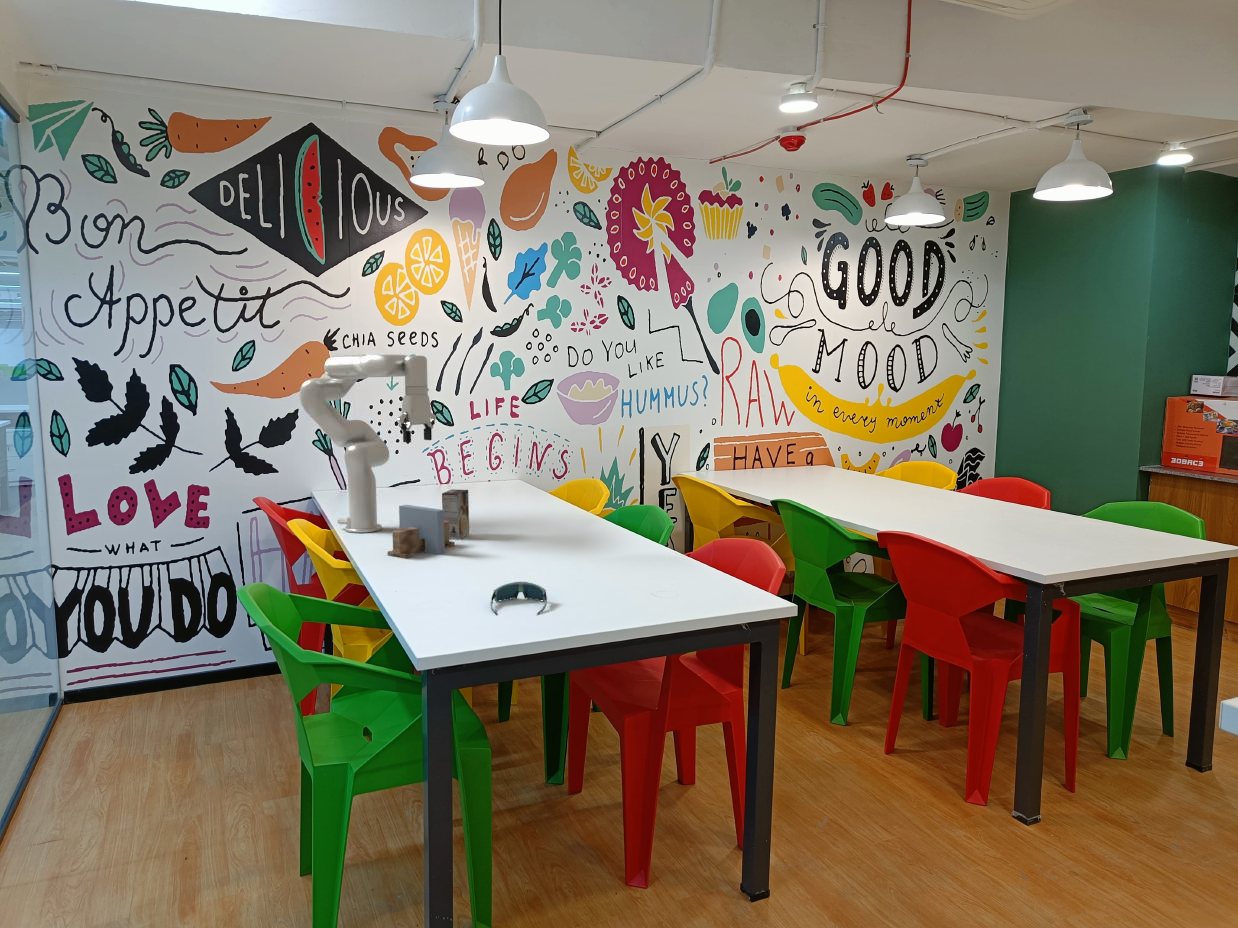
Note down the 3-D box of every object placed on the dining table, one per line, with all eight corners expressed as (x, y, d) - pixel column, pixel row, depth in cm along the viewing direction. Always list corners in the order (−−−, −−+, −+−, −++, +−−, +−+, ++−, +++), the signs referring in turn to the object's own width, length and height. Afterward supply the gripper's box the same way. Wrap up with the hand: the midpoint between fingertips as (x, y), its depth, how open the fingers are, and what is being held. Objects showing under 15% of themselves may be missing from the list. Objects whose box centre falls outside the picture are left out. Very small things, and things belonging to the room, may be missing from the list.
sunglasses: (548, 598, 225) (548, 580, 224) (545, 623, 210) (545, 604, 209) (494, 598, 224) (493, 580, 223) (488, 623, 210) (487, 604, 209)
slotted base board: (405, 558, 266) (404, 533, 265) (387, 555, 270) (386, 530, 269) (454, 545, 284) (454, 522, 283) (437, 542, 289) (436, 519, 288)
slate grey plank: (444, 552, 274) (443, 509, 272) (438, 554, 272) (437, 511, 270) (406, 546, 283) (405, 504, 281) (400, 547, 280) (399, 505, 279)
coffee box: (452, 533, 304) (451, 488, 301) (469, 534, 302) (469, 489, 300) (442, 538, 295) (441, 492, 293) (459, 539, 293) (459, 493, 291)
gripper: (426, 390, 303) (427, 438, 305) (389, 392, 288) (391, 442, 290) (442, 391, 299) (443, 439, 301) (405, 392, 284) (406, 444, 286)
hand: (417, 441), depth 296 cm, fingers open, 9 cm apart
